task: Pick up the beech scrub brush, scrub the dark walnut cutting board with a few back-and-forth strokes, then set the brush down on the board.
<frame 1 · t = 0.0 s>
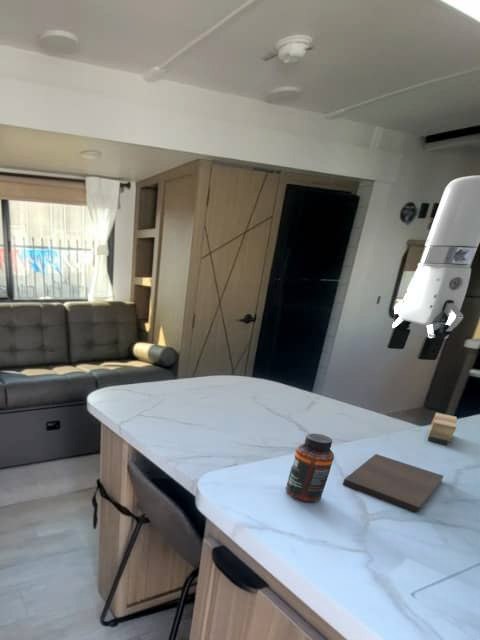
hand: (409, 353, 80), 22 cm above the table, tool pointing down, fingers open, 9 cm apart
board: (392, 482, 79), on the table
supplement bottle: (302, 495, 73), on the table
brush: (437, 437, 101), on the table
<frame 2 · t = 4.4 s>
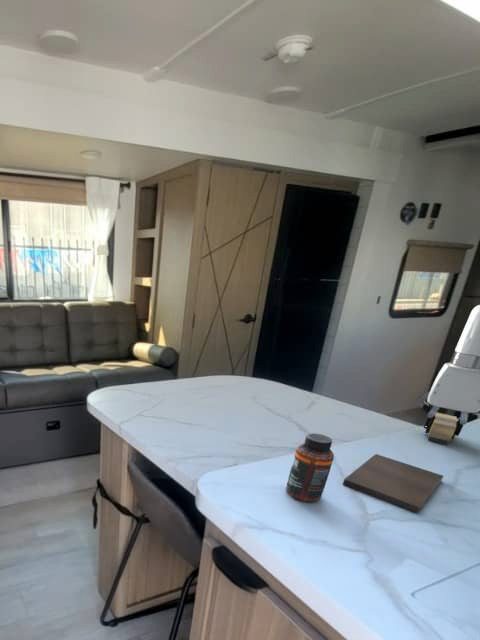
hand: (439, 433, 101), 1 cm above the table, tool pointing down, fingers closed on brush, 4 cm apart
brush: (437, 437, 101), on the table, touching gripper
everything else where it was.
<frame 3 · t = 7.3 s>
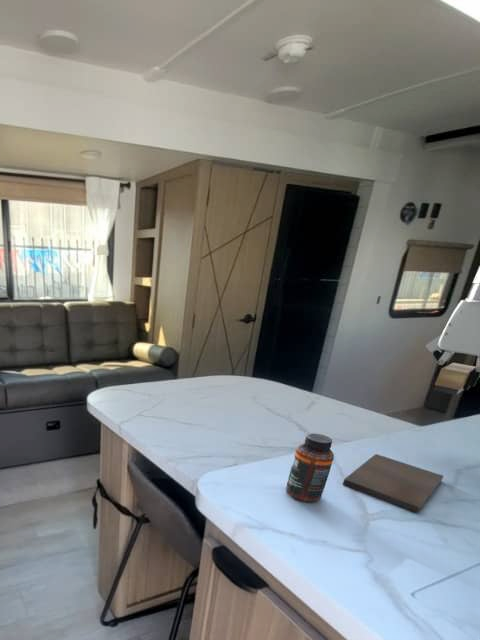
hand: (452, 384, 87), 16 cm above the table, tool pointing down, fingers closed on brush, 4 cm apart
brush: (450, 389, 87), point 15 cm above the table, touching gripper
everything else where it was.
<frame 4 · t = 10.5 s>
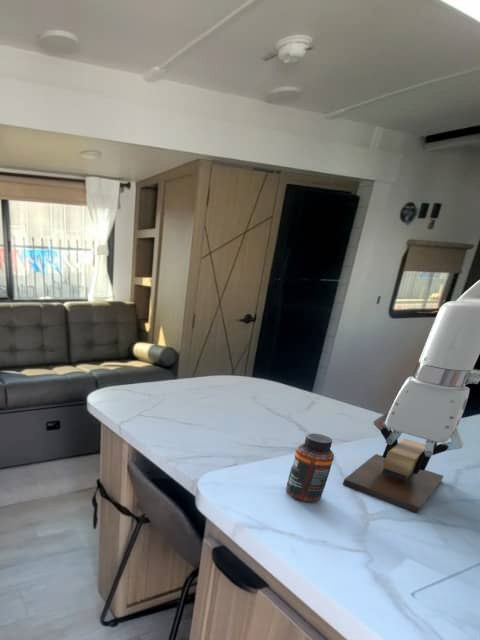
hand: (401, 465, 79), 3 cm above the table, tool pointing down, fingers closed on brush, 4 cm apart
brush: (400, 469, 80), point 2 cm above the table, touching gripper
everything else where it was.
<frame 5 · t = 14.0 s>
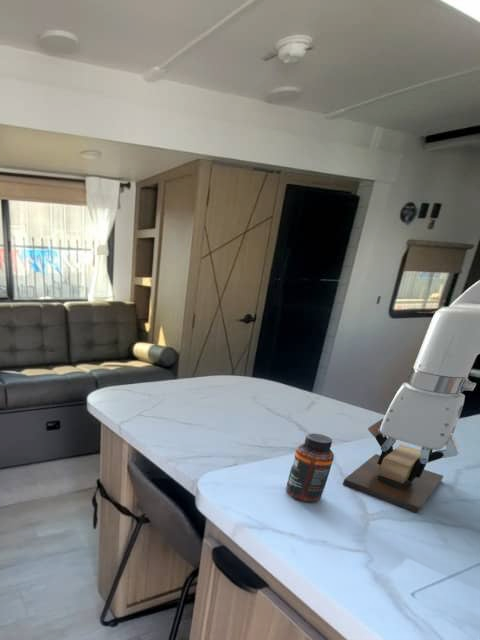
hand: (397, 473, 78), 2 cm above the table, tool pointing down, fingers closed on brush, 4 cm apart
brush: (395, 476, 79), point 1 cm above the table, touching gripper
everything else where it was.
when the fingers open (2 cm above the table, at t = 16.7 s): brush stays where it is, resting on board.
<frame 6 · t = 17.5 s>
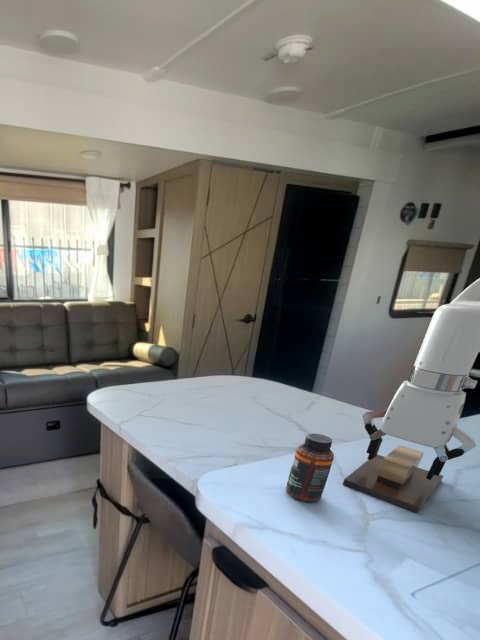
hand: (399, 467, 77), 3 cm above the table, tool pointing down, fingers open, 9 cm apart
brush: (394, 477, 78), point 1 cm above the table, touching board
everything else where it was.
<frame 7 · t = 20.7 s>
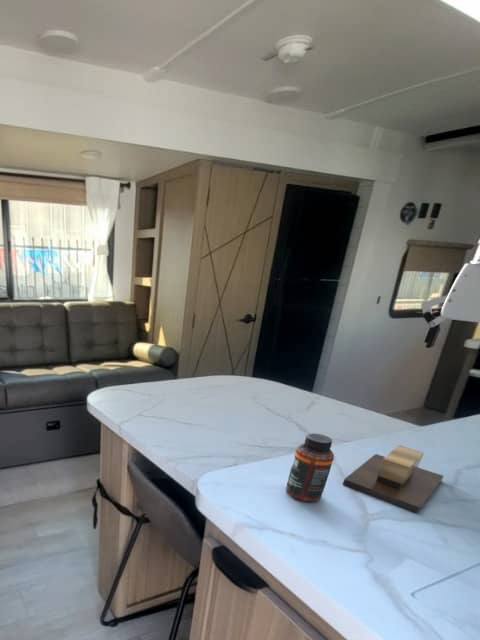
hand: (458, 351, 80), 23 cm above the table, tool pointing down, fingers open, 9 cm apart
nothing on the table moved.
at the end: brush inside the target area on the board (0.1 cm from its centre), point 1.2 cm above the board's base; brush tilted 0°; the gripper is holding nothing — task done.
